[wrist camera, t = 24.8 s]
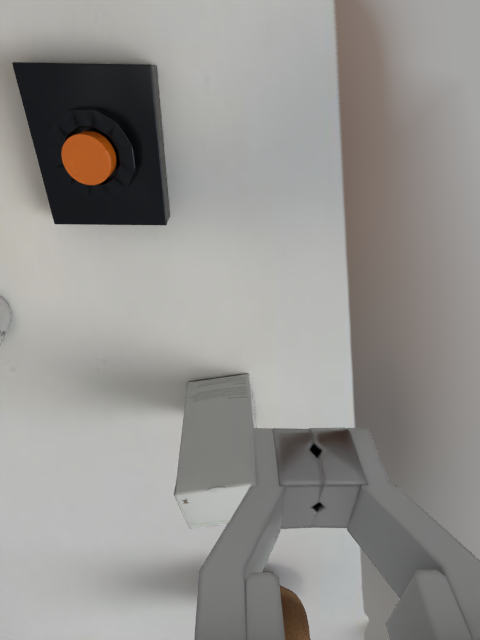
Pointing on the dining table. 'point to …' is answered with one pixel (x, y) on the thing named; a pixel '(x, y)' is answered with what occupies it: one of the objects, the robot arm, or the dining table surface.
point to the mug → (4, 318)
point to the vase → (293, 616)
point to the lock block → (111, 122)
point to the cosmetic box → (215, 450)
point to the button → (88, 157)
